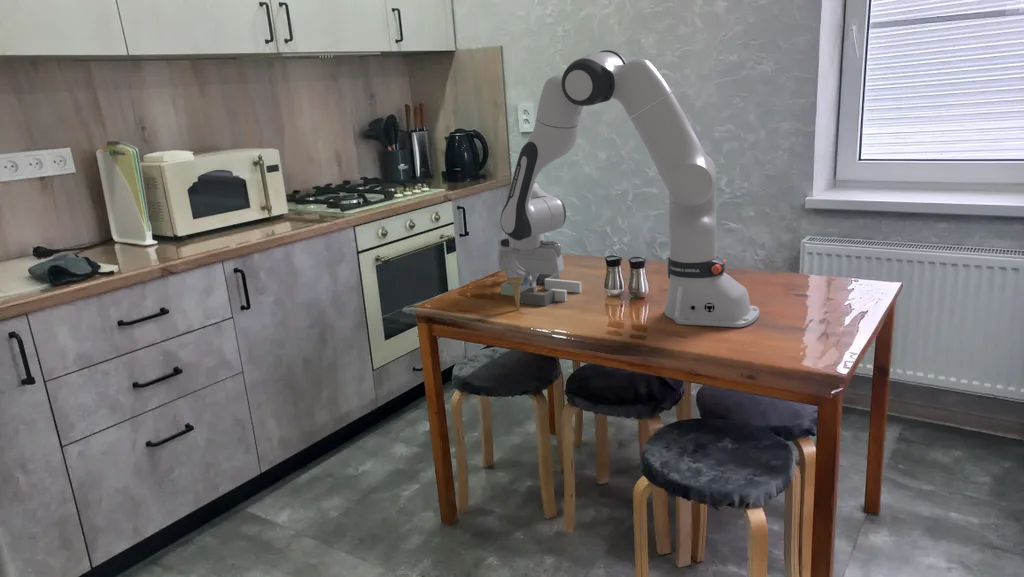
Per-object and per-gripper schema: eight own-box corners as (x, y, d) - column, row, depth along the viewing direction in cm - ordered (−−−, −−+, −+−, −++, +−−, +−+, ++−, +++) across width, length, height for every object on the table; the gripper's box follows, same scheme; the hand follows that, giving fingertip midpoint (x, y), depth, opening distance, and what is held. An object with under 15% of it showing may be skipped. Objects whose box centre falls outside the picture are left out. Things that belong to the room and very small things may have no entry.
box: (590, 286, 203) (589, 276, 202) (556, 307, 187) (555, 296, 187) (528, 280, 214) (527, 271, 214) (491, 299, 199) (490, 289, 198)
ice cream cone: (504, 312, 187) (499, 258, 183) (512, 305, 192) (507, 252, 188) (524, 313, 185) (520, 258, 181) (531, 306, 190) (527, 252, 186)
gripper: (566, 238, 195) (569, 286, 199) (505, 236, 206) (509, 281, 210) (554, 244, 190) (558, 292, 194) (493, 240, 201) (497, 287, 205)
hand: (532, 286), depth 202 cm, fingers closed
